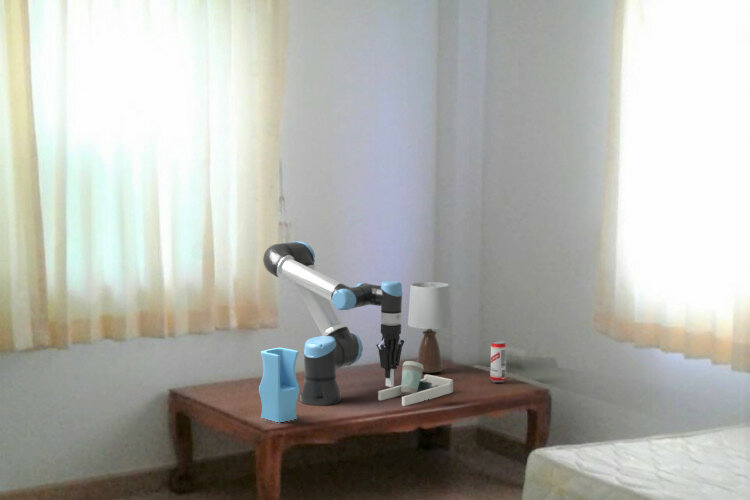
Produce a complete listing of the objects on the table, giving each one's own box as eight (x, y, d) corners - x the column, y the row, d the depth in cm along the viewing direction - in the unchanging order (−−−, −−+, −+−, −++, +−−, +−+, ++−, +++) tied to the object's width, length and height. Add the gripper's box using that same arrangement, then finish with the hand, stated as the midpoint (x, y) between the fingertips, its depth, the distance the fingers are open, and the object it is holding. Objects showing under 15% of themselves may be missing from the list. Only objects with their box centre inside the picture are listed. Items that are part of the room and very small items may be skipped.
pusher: (429, 396, 346) (429, 383, 346) (411, 392, 352) (411, 379, 352) (446, 391, 354) (446, 378, 353) (428, 387, 360) (428, 375, 359)
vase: (278, 428, 306) (277, 355, 304) (259, 423, 313) (258, 351, 310) (299, 422, 314) (299, 351, 311) (280, 416, 320) (279, 347, 318)
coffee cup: (393, 392, 347) (398, 363, 352) (412, 399, 350) (417, 369, 355) (403, 389, 340) (409, 358, 345) (423, 395, 343) (428, 365, 348)
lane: (404, 407, 333) (404, 393, 332) (378, 400, 341) (378, 387, 341) (452, 392, 354) (453, 379, 353) (427, 386, 363) (427, 374, 362)
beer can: (498, 383, 368) (499, 344, 366) (487, 380, 372) (487, 342, 371) (508, 380, 372) (509, 342, 370) (497, 378, 376) (497, 340, 375)
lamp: (410, 364, 402) (410, 281, 398) (452, 365, 399) (452, 282, 395) (405, 374, 383) (405, 287, 380) (449, 375, 381) (450, 288, 377)
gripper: (386, 327, 327) (385, 391, 329) (410, 322, 336) (408, 384, 339) (371, 324, 332) (370, 387, 334) (395, 319, 341) (393, 381, 344)
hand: (389, 385), depth 337 cm, fingers closed
